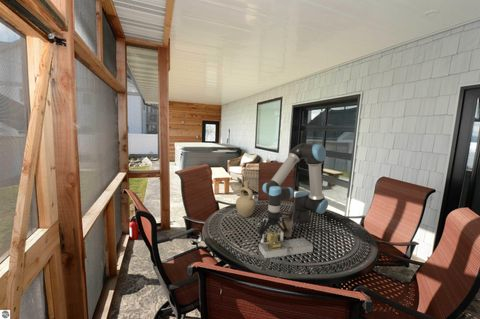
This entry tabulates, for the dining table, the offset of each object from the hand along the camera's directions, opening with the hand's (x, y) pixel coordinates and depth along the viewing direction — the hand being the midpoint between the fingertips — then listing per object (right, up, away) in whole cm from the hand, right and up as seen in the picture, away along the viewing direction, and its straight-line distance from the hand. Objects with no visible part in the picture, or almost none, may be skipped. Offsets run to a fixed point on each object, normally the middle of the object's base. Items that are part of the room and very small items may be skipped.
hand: (271, 242), depth 147 cm
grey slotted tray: (+7, -2, -9) cm, 12 cm away
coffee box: (+11, +1, +13) cm, 17 cm away
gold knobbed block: (0, 0, 0) cm, 0 cm away
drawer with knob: (0, -2, -11) cm, 12 cm away
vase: (-16, +6, +44) cm, 47 cm away
